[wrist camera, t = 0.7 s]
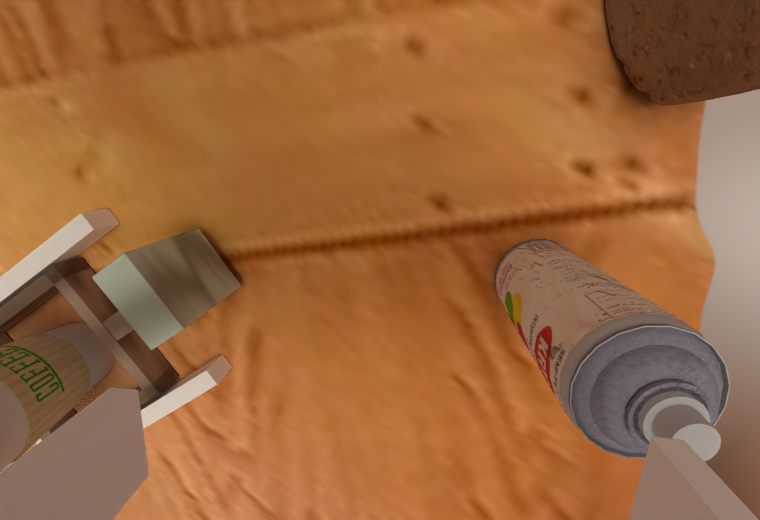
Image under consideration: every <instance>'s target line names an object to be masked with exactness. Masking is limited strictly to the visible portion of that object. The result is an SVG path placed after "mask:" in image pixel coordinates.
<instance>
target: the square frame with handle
mask: <svg viewBox="0 0 760 520" xmlns="http://www.w3.org/2000/svg"><path fill="white" fill-rule="evenodd" d="M240 286H241V284H240V283H239V282H238V280H237V279H236V278H235V276H234V275H233V274H232V272H231V271H230V270H229V268H228V267H227V266H226V264H225V263H224V262H223V260H222V259H221V258H220V256H219V255H218V254H217V252H216V251H215V250H214V248H213V247H212V246H211V244H210V243H209V242H208V240H207V239H206V238H205V236H204V235H203V233H202V232H201V231H200V229H199V228H198V229H195V230H192V231H189V232H186V233H183V234H180V235H177V236H174V237H171V238H168V239H165V240H162V241H159V242H156V243H153V244H150V245H147V246H144V247H141V248H139V249H136V250H133V251H130V252H127V253H124V254H123V255H121V256H120V257H119V258H117V259H116V260H114V261H113V262H112V263H110V264H109V265H108V266H106V267H105V268H104V269H102V270H101V271H100V272H98V273H97V274H95V273H94V271H93V270H92V269H91V268H90V266H89V265H88V264H87V263H86V261H85V260H84V259H83V258H80V259H76V260H73V261H70V262H67V263H63V264H60V265H57V266H54V267H53V268H51V269H50V270H49V271H47V272H46V273H45V274H43V275H42V276H41V277H40V278H38V279H37V280H36V281H34V282H33V283H32V284H30V285H29V286H28V287H27V288H25V289H24V290H23V291H21V292H20V293H19V294H17V295H16V296H15V297H13V298H12V299H11V300H10V301H8V302H7V303H6V304H4V305H3V306H2V307H0V346H1V345H4V344H7V343H10V342H13V341H12V340H11V339H10V338H9V337H8V336H7V334H6V333H5V332H6V331H8V330H9V329H10V328H12V327H13V326H15V325H16V324H17V323H19V322H20V321H21V320H23V319H24V318H25V317H27V316H28V315H29V314H31V313H32V312H33V311H35V310H36V309H37V308H39V307H40V306H41V305H43V304H44V303H45V302H47V301H48V300H49V299H51V298H52V297H53V296H55V295H56V294H57V293H59V292H60V293H61V294H62V295H63V296H64V297H65V299H66V300H67V301H68V302H69V303H70V305H71V306H72V307H73V308H74V309H75V311H76V312H77V313H78V314H79V315H80V316H81V318H82V319H83V320H84V321H85V322H86V324H87V325H88V326H89V327H90V328H91V330H92V331H93V332H94V333H95V334H96V336H97V337H98V338H99V339H100V340H101V341H102V343H103V344H104V345H105V346H106V347H107V349H108V350H109V351H110V352H111V353H112V355H113V356H114V357H115V358H116V359H117V361H118V362H119V363H120V364H121V365H122V366H123V368H124V369H125V370H126V371H127V372H128V374H129V375H130V376H131V377H132V378H133V380H134V381H135V382H136V383H137V384H138V385H139V387H138V388H136V390H138V393H139V401H140V406H141V405H143V404H144V403H146V402H148V401H149V400H151V399H152V398H154V397H156V396H157V395H159V394H160V393H161V392H163V391H164V390H165V389H166V388H167V387H168V386H169V385H170V384H171V383H172V382H173V381H174V380H175V379H176V378H178V377H179V376H178V374H177V373H176V372H175V371H174V369H173V368H172V367H171V366H170V365H169V363H168V362H167V361H166V360H165V358H164V357H163V356H162V355H161V354H160V352H159V351H158V350H157V349H156V347H157V346H159V345H160V344H162V343H163V342H165V341H166V340H168V339H169V338H171V337H172V336H174V335H175V334H177V333H178V332H180V331H181V330H183V329H184V328H186V327H187V326H188V325H190V324H191V323H192V322H194V321H195V320H196V319H198V318H199V317H200V316H202V315H203V314H204V313H206V312H207V311H208V310H210V309H211V308H212V307H214V306H215V305H216V304H218V303H219V302H220V301H222V300H223V299H224V298H226V297H227V296H228V295H230V294H231V293H232V292H234V291H235V290H236V289H238V288H239V287H240ZM76 414H77V413H76V412H75V411H74V410H73V409H71V410H70V411H69V412H68V413H67V414H66V415H65V416H64V417H62V418H61V419H60V420H59V421H58V422H57V423H56V424H55V425H54V426H53V427H52V428H51V429H50V430H48V431H47V432H46V433H45V434H44V435H43V436H42V438H43V439H45V438H46V437H47V436H49V435H50V434H51V433H53V432H54V431H55V430H56V429H58V428H59V427H60V426H62V425H63V424H64V423H65V422H67V421H68V420H69V419H71V418H72V417H73V416H74V415H76Z"/></svg>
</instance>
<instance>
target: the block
mask: <svg viewBox="0 0 760 520" xmlns="http://www.w3.org/2000/svg"><path fill="white" fill-rule="evenodd" d="M605 1H606V16H607V23H608V29H609V34H610V39H611V44H612V46H613V48H614V50H615V53H616V56H617V58H618V59H619V60H620V61H621V62H622V63H624V70H625V72H626V74H627V76H628V78H629V79H630V81H631V82H632V83H633V85H634V86H635V87H636V89H637V90H639V91H640V92H643V93H646V94H648V95H649V96H650V99H651V100H652V101H653V102H655V103H657V104H659V105H676V104H685V103H692V102H699V101H705V100H710V99H715V98H720V97H725V96H730V95H735V94H740V93H744V92H748V91H752V90H757V89H760V0H605Z"/></svg>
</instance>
